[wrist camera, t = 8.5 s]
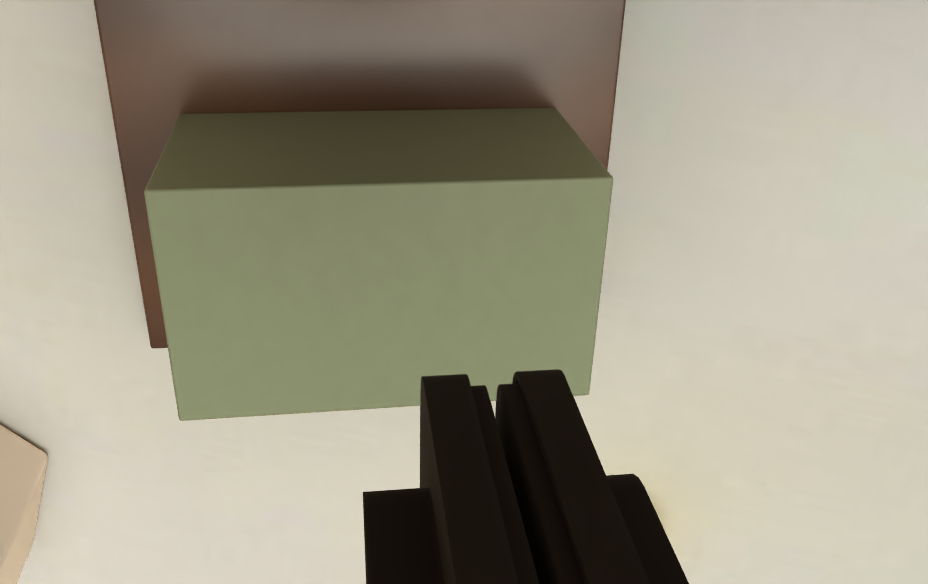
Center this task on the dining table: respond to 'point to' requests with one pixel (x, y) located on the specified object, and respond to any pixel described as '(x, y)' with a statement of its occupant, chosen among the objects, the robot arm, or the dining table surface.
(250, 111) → the board
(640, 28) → the dining table surface
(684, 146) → the dining table surface
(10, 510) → the jar
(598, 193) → the block
